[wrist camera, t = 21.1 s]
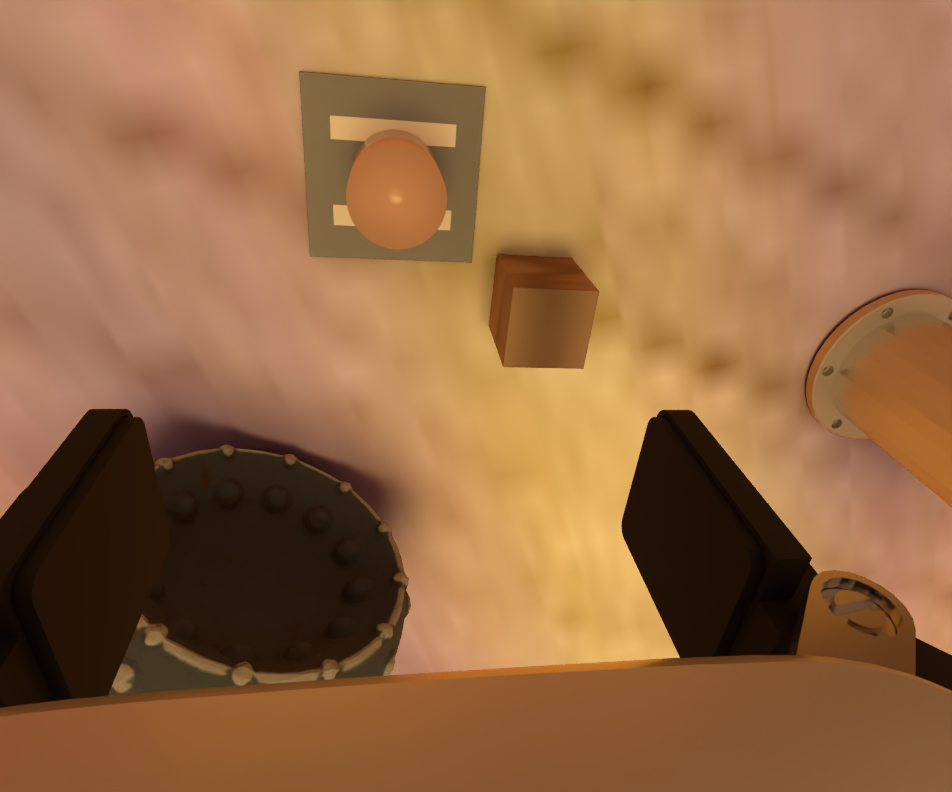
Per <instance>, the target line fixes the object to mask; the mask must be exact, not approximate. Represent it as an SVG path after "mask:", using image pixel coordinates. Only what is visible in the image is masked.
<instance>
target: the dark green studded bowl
mask: <svg viewBox="0 0 952 792" xmlns="http://www.w3.org/2000/svg"><path fill="white" fill-rule="evenodd" d="M154 468H155V472H156V476H157V480H158V485H159V489H160V493H161V498H162V502H163V506H164V510H165V515H166V519H167V523H168V528H169V533H170V545H169V550H168V553H167V556H166V558H165V560H164V563H163V565H162V568H161V570H160V572H159V575H158V577H157V580H156V582H155V584H154V587H153V589H152V591H151V594H150V596H149V599H148V601H147V603H146V606H145V608H144V611H143V613H142V615H141V618H140V620H139V622H138V625H137V627H136V630H135V632H134V634H133V637H132V639H131V642H130V644H129V646H128V649H127V651H126V654H125V656H124V658H123V661H122V663H121V665H120V668H119V670H118V673H117V675H116V677H115V680H114V682H113V685H112V687H111V689H110V692H109V694H108V696H113V695H125V694H137V693H149V692H161V691H172V690H185V689H199V688H213V687H228V686H242V685H257V684H271V683H285V682H300V681H314V680H329V679H343V678H358V677H374V676H388V675H389V674H390V673H391V671H392V670H393V667H394V663H395V655H396V652H397V649H398V646H399V642H400V639H401V635H402V629H403V623H404V619H405V617H406V616H407V614H408V613H409V610H410V607H411V603H410V597H409V595H408V593H407V591H406V588H407V586H408V580H409V578H408V577H407V576H406V574H405V573H404V569H403V564H402V560H401V556H400V553H399V551H398V548H397V545H396V543H395V541H394V539H393V537H392V535H391V526H390V525H389V524H388V523H386V522H383V521H382V520H381V519H380V517H379V516H378V515H377V514H376V512H375V511H374V510H373V509H372V508H371V506H370V505H369V504H368V503H366V502H365V501H364V500H363V499H362V498H361V497H360V496H359V495H358V494H357V493H356V492H355V491H354V490H353V488H352V486H351V484H350V483H348V482H345V481H339V480H337V479H336V478H334V477H332V476H331V475H329V474H327V473H325V472H323V471H321V470H319V469H317V468H315V467H313V466H311V465H308V464H306V463H304V462H302V461H299V460H298V459H297V458H296V457H295V456H294V455H293V454H287V455H279V454H275V453H270V452H265V451H260V450H251V449H238V448H234V447H233V446H231V445H226V444H225V445H222V446H220V447H218V448H215V449H207V450H200V451H194V452H191V453H187V454H183V455H180V456H176V457H172V458H166V457H163V458H159V459H158V460H156V461H155V463H154Z"/></svg>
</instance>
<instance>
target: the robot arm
mask: <svg viewBox="0 0 952 792" xmlns="http://www.w3.org/2000/svg"><path fill="white" fill-rule="evenodd" d="M806 398H807V403H808V407H809V409H810V411H811V413H812V415H813V416H814V418H815V419H816V420H817V421H818V422H819V423H820V424H821V425H822V426H824V427H825V428H826V429H827V430H828V431H830V432H832V433H834V434H836V435H838V436H841V437H846V438H851V439H867V438H870V439H871V440H872V441H873V442H875V443H876V444H877V445H878V446H879V447H881V448H882V449H883V450H884V451H885V452H887V453H888V454H889V455H890V456H891V457H893V458H894V459H895V460H896V461H897V462H898V463H900V464H901V465H902V466H903V467H904V468H906V469H907V470H908V471H909V472H910V473H912V474H913V475H914V476H915V477H916V478H917V479H919V480H920V481H921V482H922V483H923V484H925V485H926V486H927V487H928V488H929V489H931V490H932V491H933V492H934V493H935V494H936V495H938V496H939V497H940V498H941V499H942V500H944V501H945V502H946V503H947V504H948V505H950V506H951V507H952V299H951V298H949V297H947V296H945V295H943V294H941V293H937V292H933V291H930V290H908V291H902V292H897V293H894V294H891V295H888V296H885V297H882V298H880V299H878V300H876V301H874V302H872V303H870V304H868V305H866V306H864V307H863V308H861V309H860V310H858V311H857V312H855V313H854V314H852V315H851V316H850V317H849V318H848V319H846V320H845V321H844V322H843V323H842V324H841V325H840V326H838V327H837V328H836V330H835V331H834V332H833V333H832V334H831V335H830V336H829V338H828V339H827V340H826V341H825V342H824V344H823V346H822V347H821V349H820V350H819V352H818V353H817V355H816V357H815V359H814V361H813V363H812V366H811V368H810V371H809V375H808V379H807V383H806ZM622 533H623V537H624V540H625V542H626V544H627V546H628V548H629V550H630V552H631V554H632V557H633V559H634V561H635V563H636V565H637V567H638V569H639V571H640V574H641V576H642V578H643V580H644V582H645V584H646V586H647V588H648V591H649V593H650V595H651V597H652V599H653V601H654V603H655V605H656V608H657V610H658V612H659V614H660V616H661V618H662V620H663V622H664V624H665V627H666V629H667V631H668V633H669V635H670V637H671V639H672V641H673V644H674V646H675V648H676V650H677V652H678V654H679V656H680V658H668V659H651V660H634V661H617V662H599V663H582V664H565V665H548V666H531V667H515V668H499V669H483V670H467V671H451V672H435V673H420V674H405V675H389V676H374V677H358V678H343V679H329V680H314V681H300V682H285V683H271V684H257V685H242V686H228V687H213V688H199V689H185V690H172V691H161V692H149V693H137V694H125V695H113V696H108V694H109V692H110V689H111V687H112V685H113V682H114V680H115V677H116V675H117V673H118V670H119V668H120V665H121V663H122V661H123V658H124V656H125V654H126V651H127V649H128V646H129V644H130V642H131V639H132V637H133V634H134V632H135V630H136V627H137V625H138V622H139V620H140V618H141V615H142V613H143V611H144V608H145V606H146V603H147V601H148V599H149V596H150V594H151V591H152V589H153V587H154V584H155V582H156V580H157V577H158V575H159V572H160V570H161V568H162V565H163V563H164V560H165V558H166V556H167V553H168V550H169V545H170V533H169V528H168V523H167V519H166V515H165V510H164V506H163V502H162V498H161V493H160V489H159V485H158V480H157V476H156V472H155V468H154V463H153V459H152V455H151V450H150V446H149V442H148V437H147V433H146V429H145V425H144V422H143V420H142V419H141V418H140V417H133V415H132V414H131V412H130V411H129V410H127V409H91V410H89V411H88V412H87V413H86V414H85V415H84V416H83V418H82V419H81V420H80V421H79V423H78V424H77V425H76V426H75V428H74V429H73V430H72V432H71V433H70V434H69V435H68V437H67V438H66V439H65V440H64V442H63V443H62V444H61V445H60V447H59V448H58V449H57V451H56V452H55V453H54V454H53V456H52V457H51V458H50V459H49V461H48V462H47V463H46V465H45V466H44V467H43V468H42V470H41V471H40V472H39V473H38V475H37V476H36V477H35V478H34V480H33V481H32V482H31V484H30V485H29V486H28V487H27V488H26V489H25V490H24V491H23V492H22V493H21V494H20V495H19V496H18V497H17V499H16V500H15V501H14V502H13V504H12V505H11V506H10V507H9V509H8V510H7V511H6V512H5V514H4V515H3V516H2V517H1V519H0V792H952V655H950V654H948V653H946V652H944V651H941V650H939V649H937V648H935V647H933V646H931V645H929V644H927V643H925V642H923V641H921V640H919V639H917V638H916V629H915V625H914V621H913V618H912V616H911V615H910V613H909V611H908V610H907V608H906V607H905V606H904V605H903V604H902V603H901V602H900V601H899V600H898V599H897V598H896V597H895V596H894V595H893V594H892V593H890V592H889V591H888V590H886V589H885V588H883V587H882V586H881V585H879V584H877V583H875V582H873V581H871V580H869V579H867V578H865V577H862V576H859V575H856V574H853V573H850V572H844V571H837V570H833V571H824V572H822V573H820V574H817V572H816V571H815V570H814V569H813V567H812V566H811V565H810V564H809V563H810V561H811V559H812V557H811V556H810V555H809V554H808V553H807V551H806V550H805V549H804V548H803V546H802V545H801V544H800V543H799V541H798V540H797V539H796V538H795V537H794V535H793V534H792V533H791V532H790V530H789V529H788V528H787V527H786V525H785V524H784V523H783V522H782V520H781V519H780V518H779V517H778V516H777V514H776V513H775V512H774V511H773V509H772V508H771V507H770V506H769V504H768V503H767V502H766V501H765V500H764V498H763V497H762V496H761V495H760V493H759V492H758V491H757V490H756V488H755V487H754V486H753V485H752V484H751V482H750V481H749V480H748V479H747V477H746V476H745V475H744V474H743V472H742V471H741V470H740V469H739V468H738V466H737V465H736V464H735V463H734V461H733V460H732V459H731V458H730V456H729V455H728V454H727V453H726V452H725V450H724V449H723V448H722V447H721V445H720V444H719V443H718V442H717V440H716V439H715V438H714V437H713V436H712V434H711V433H710V432H709V431H708V429H707V428H706V427H705V426H704V424H703V423H702V422H701V421H700V419H699V418H698V417H697V416H696V415H695V413H693V412H692V411H690V410H662V411H660V412H659V413H658V415H657V417H653V418H651V419H650V420H649V423H648V426H647V429H646V433H645V437H644V440H643V444H642V448H641V452H640V455H639V459H638V463H637V467H636V470H635V474H634V478H633V481H632V485H631V489H630V493H629V496H628V500H627V504H626V508H625V511H624V515H623V519H622Z"/></svg>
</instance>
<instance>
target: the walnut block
mask: <svg viewBox="0 0 952 792" xmlns="http://www.w3.org/2000/svg"><path fill="white" fill-rule="evenodd" d="M598 294H599V291H598V289H597V288H596V287H595V286H594V285H593V283H592V282H591V281H590V280H589V278H588V277H587V276H586V275H585V274H584V272H583V271H582V270H581V269H580V268H579V266H578V265H577V264H576V263H575V261H574V260H573V259H572V258H556V257H537V256H517V255H497V258H496V267H495V276H494V285H493V294H492V303H491V312H490V321H489V328H490V330H491V333H492V336H493V339H494V342H495V345H496V348H497V350H498V353H499V356H500V359H501V362H502V365H503V367H531V368H577V369H583V368H584V363H585V358H586V353H587V348H588V343H589V338H590V334H591V329H592V324H593V319H594V314H595V309H596V304H597V299H598Z"/></svg>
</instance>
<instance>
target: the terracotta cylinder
mask: <svg viewBox="0 0 952 792" xmlns="http://www.w3.org/2000/svg"><path fill="white" fill-rule="evenodd" d="M346 203H347V208H348V212H349V215H350V217H351V219H352V221H353V223H354V225H355V226H356V228H357V229H358V230H359V231H360V233H361V234H362V235H364V236H365V237H366V238H367V239H368V240H370V241H371V242H373V243H375V244H377V245H379V246H382V247H385V248H389V249H408V248H412V247H415V246H417V245H420V244H422V243H423V242H425V241H427V240H428V239H429V238H430V237H431V236H432V235H433V234H434V233H435V232H436V231H437V230H438V228H439V227H440V225H441V223H442V221H443V219H444V216H445V213H446V208H447V191H446V187H445V183H444V180H443V178H442V175H441V173H440V170H439V168H438V165H437V163H436V160H435V158H434V155H433V153H432V152H431V150H430V149H429V147H428V146H427V145H426V144H425V143H424V142H423V141H422V140H421V139H420V138H418V137H417V136H415V135H414V134H411V133H409V132H406V131H403V130H397V129H390V130H384V131H380V132H378V133H375V134H373V135H372V136H370V137H369V138H367V139H366V140H365V141H364V142H363V143H362V144H361V146H360V147H359V149H358V150H357V152H356V154H355V157H354V160H353V164H352V167H351V171H350V175H349V179H348V183H347V189H346Z"/></svg>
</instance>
